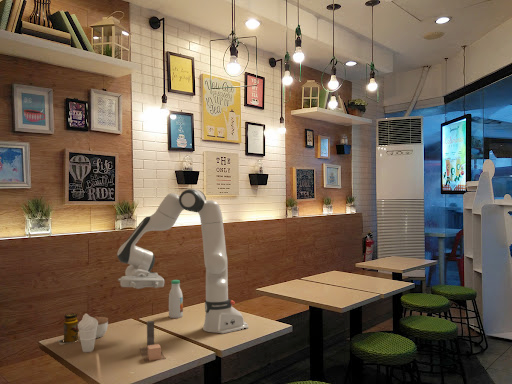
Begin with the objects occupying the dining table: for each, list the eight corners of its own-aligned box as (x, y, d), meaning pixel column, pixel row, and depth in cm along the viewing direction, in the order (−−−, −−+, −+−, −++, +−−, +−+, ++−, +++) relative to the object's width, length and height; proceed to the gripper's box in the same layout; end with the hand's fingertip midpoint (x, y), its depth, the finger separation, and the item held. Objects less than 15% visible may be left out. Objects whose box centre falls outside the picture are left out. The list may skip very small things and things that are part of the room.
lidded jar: (92, 332, 207) (92, 313, 207) (112, 333, 205) (112, 313, 205) (79, 339, 196) (79, 319, 197) (100, 340, 195) (100, 319, 195)
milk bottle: (176, 319, 228) (176, 282, 229) (165, 317, 232) (165, 281, 233) (185, 315, 235) (185, 279, 236) (175, 314, 239) (174, 278, 239)
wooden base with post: (139, 351, 178) (138, 320, 179) (158, 348, 182) (158, 317, 182) (145, 365, 163) (144, 330, 163) (165, 361, 166) (165, 328, 166)
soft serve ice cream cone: (95, 346, 187) (95, 309, 187) (100, 351, 180) (100, 313, 180) (75, 350, 182) (75, 312, 182) (80, 355, 175) (80, 316, 175)
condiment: (80, 341, 194) (79, 315, 194) (60, 345, 189) (59, 318, 189) (77, 337, 200) (76, 312, 200) (57, 340, 195) (57, 314, 195)
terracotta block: (147, 356, 168) (147, 345, 168) (158, 355, 170) (158, 343, 170) (149, 360, 164) (149, 349, 164) (160, 358, 166) (160, 347, 166)
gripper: (118, 272, 200) (124, 279, 188) (160, 272, 210) (168, 279, 198) (116, 285, 200) (122, 293, 188) (158, 285, 210) (166, 292, 198)
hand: (146, 286), depth 193 cm, fingers open, 8 cm apart
